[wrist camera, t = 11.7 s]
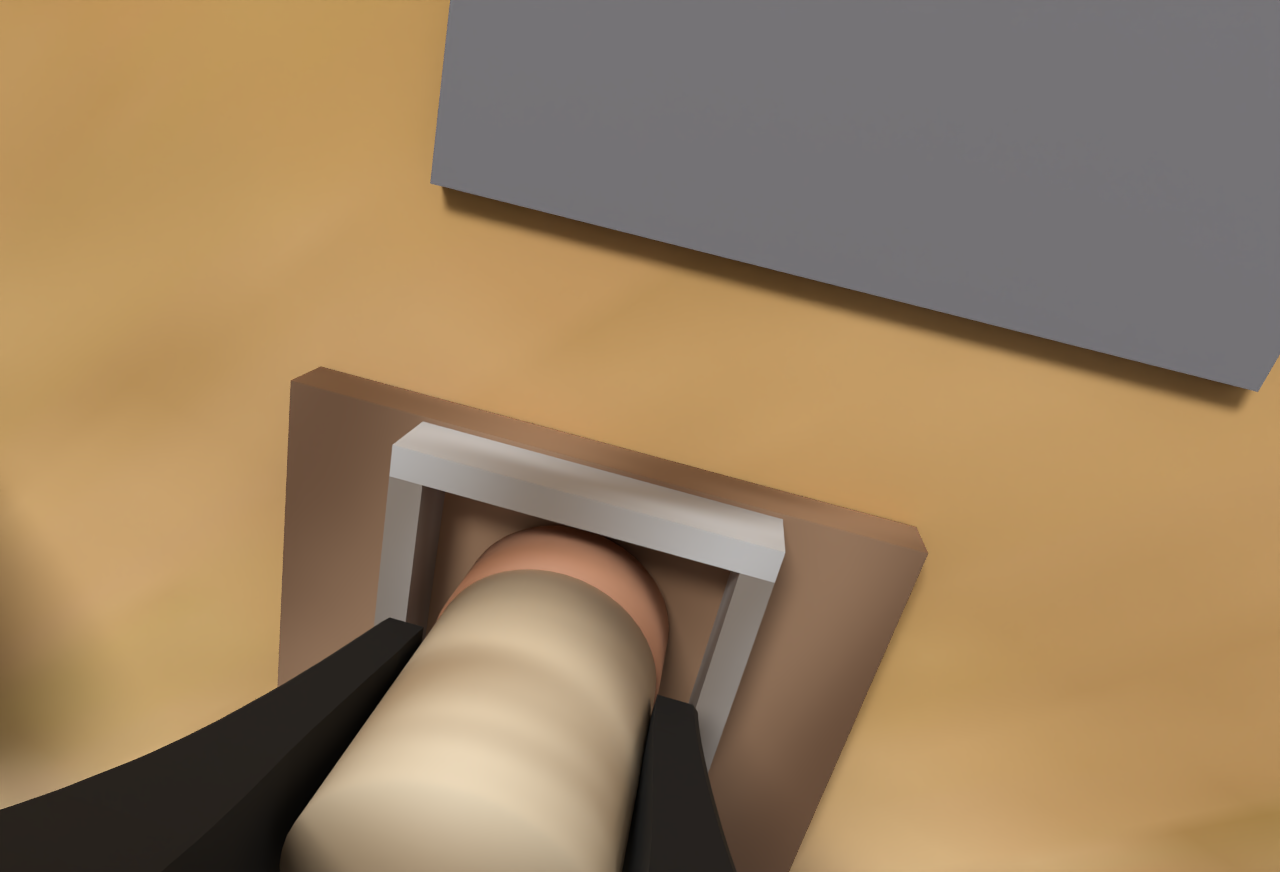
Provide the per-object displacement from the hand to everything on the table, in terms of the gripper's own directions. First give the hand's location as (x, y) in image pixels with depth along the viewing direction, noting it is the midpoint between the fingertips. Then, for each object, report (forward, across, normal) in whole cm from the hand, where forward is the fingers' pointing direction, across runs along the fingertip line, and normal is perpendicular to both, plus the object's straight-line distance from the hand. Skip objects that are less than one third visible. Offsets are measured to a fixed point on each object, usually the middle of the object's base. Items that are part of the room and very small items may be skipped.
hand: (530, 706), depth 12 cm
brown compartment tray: (+3, 0, +4) cm, 5 cm away
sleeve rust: (+2, 0, 0) cm, 2 cm away
